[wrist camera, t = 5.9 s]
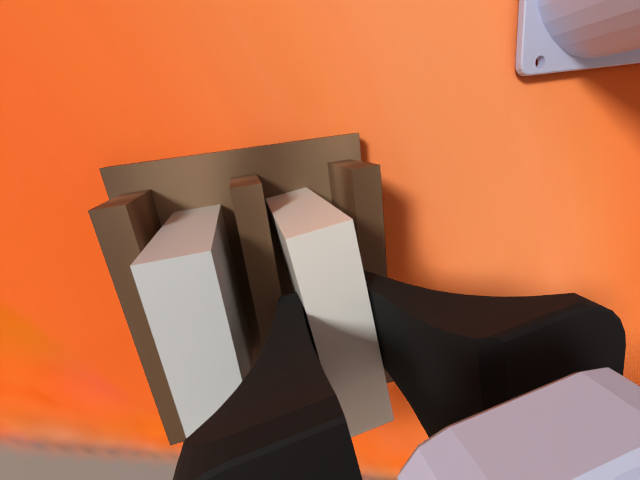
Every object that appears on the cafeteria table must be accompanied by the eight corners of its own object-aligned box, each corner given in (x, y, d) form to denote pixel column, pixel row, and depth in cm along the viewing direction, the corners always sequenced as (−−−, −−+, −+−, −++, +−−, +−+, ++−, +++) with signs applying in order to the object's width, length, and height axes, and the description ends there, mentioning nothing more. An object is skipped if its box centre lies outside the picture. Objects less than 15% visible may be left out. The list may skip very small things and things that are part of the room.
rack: (352, 133, 15) (392, 132, 11) (371, 344, 18) (405, 396, 15) (107, 166, 13) (56, 178, 9) (179, 394, 16) (163, 469, 13)
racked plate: (220, 204, 14) (210, 250, 8) (252, 349, 16) (262, 465, 10) (173, 212, 13) (130, 265, 8) (213, 359, 16) (201, 484, 10)
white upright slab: (306, 187, 14) (352, 218, 9) (340, 325, 17) (394, 420, 11) (265, 198, 14) (285, 239, 8) (305, 337, 16) (342, 440, 11)
